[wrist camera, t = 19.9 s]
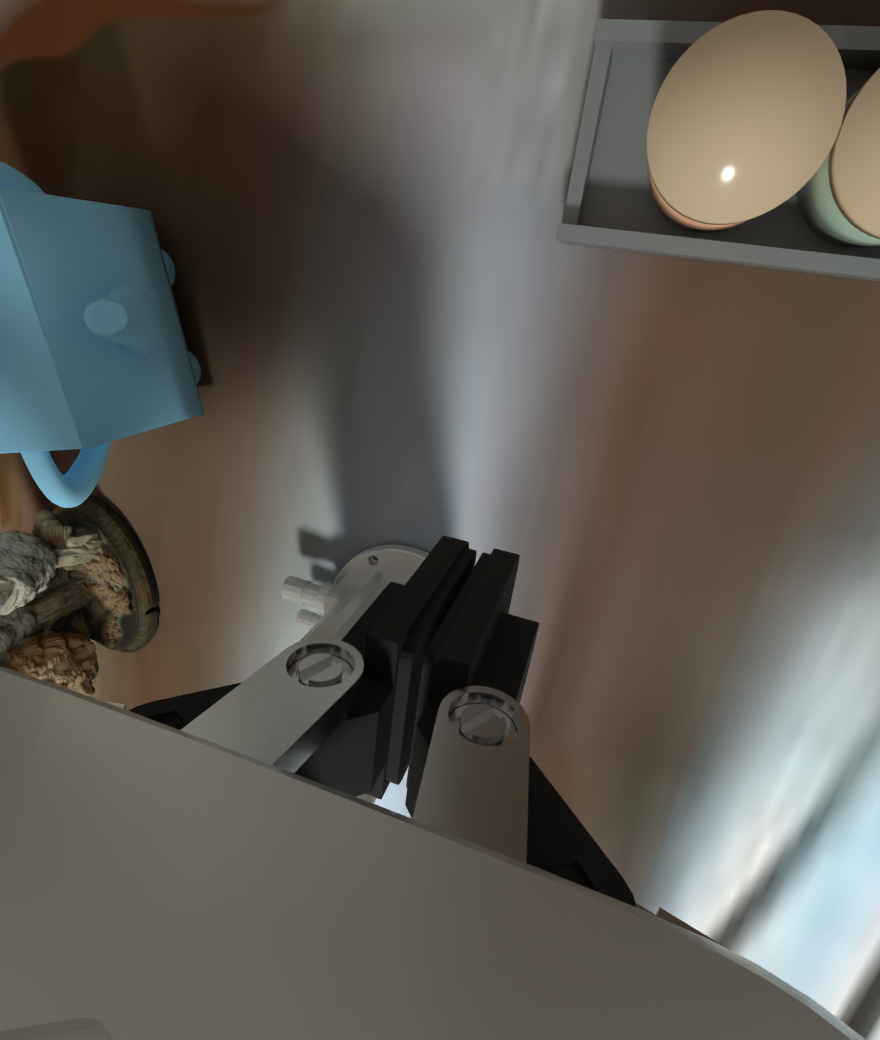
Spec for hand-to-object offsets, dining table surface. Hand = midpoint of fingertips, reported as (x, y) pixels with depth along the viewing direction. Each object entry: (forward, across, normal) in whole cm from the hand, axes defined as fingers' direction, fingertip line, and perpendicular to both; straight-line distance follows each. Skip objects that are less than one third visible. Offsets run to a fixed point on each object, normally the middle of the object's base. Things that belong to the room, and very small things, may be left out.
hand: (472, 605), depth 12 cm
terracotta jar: (+27, -4, -13) cm, 30 cm away
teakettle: (+27, +35, 0) cm, 44 cm away
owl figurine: (+27, +41, +26) cm, 56 cm away
